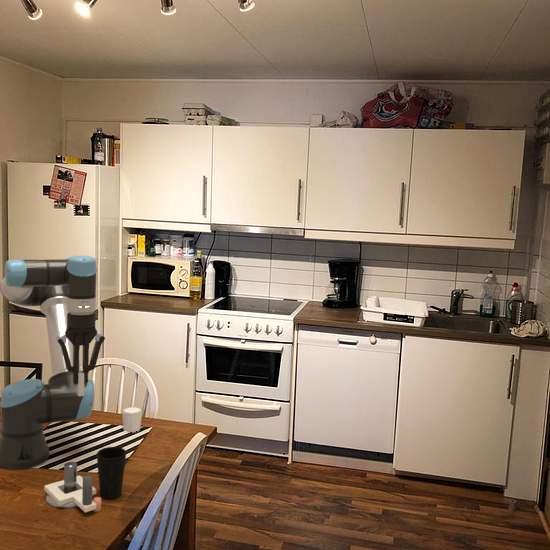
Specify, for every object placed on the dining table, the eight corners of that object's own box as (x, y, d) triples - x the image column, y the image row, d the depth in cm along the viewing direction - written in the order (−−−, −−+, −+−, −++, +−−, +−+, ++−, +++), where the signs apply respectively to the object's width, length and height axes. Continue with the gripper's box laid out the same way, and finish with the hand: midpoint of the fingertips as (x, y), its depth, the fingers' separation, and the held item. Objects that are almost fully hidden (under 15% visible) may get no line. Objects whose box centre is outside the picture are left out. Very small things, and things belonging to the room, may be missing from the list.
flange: (44, 489, 161) (44, 460, 160) (79, 479, 168) (80, 451, 167) (71, 517, 149) (72, 485, 148) (108, 504, 155) (109, 474, 154)
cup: (109, 504, 158) (110, 461, 156) (89, 495, 162) (90, 453, 160) (131, 493, 164) (132, 451, 163) (111, 485, 168) (112, 444, 167)
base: (36, 502, 157) (36, 469, 156) (65, 482, 168) (65, 451, 167) (75, 511, 154) (76, 478, 152) (102, 490, 165) (102, 459, 164)
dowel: (91, 510, 154) (91, 499, 154) (95, 507, 156) (96, 496, 156) (98, 512, 154) (98, 501, 153) (102, 508, 156) (102, 497, 155)
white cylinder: (146, 428, 209) (146, 409, 208) (131, 434, 203) (132, 415, 202) (132, 423, 212) (132, 404, 211) (117, 429, 206) (117, 410, 205)
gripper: (58, 316, 159) (58, 401, 162) (108, 313, 165) (106, 396, 169) (54, 310, 166) (53, 392, 169) (102, 308, 172) (101, 388, 175)
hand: (80, 394), depth 169 cm, fingers closed
